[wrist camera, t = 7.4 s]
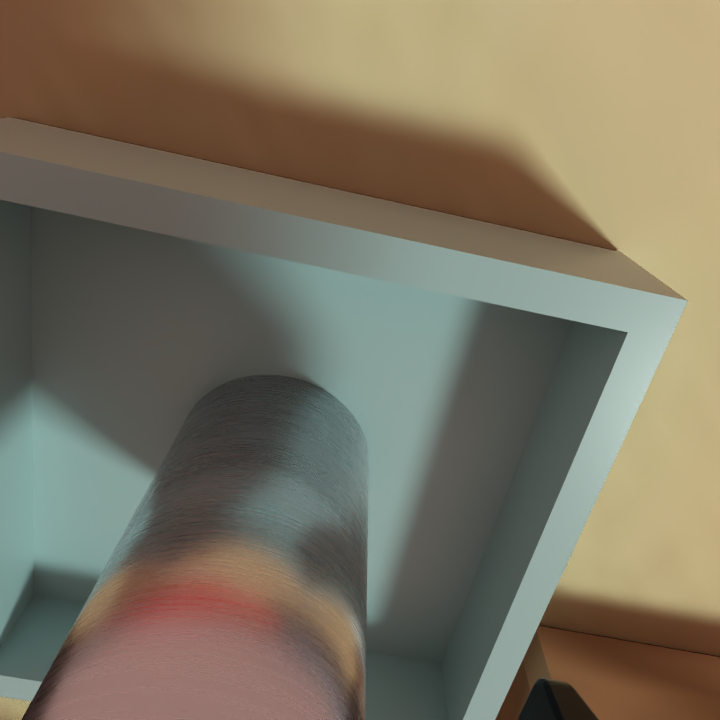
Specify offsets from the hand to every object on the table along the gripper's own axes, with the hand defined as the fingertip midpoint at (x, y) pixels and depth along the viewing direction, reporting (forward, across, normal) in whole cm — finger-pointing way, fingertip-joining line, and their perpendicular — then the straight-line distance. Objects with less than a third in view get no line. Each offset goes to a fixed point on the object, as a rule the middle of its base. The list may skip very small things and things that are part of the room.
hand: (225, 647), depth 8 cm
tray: (+5, 0, 0) cm, 5 cm away
